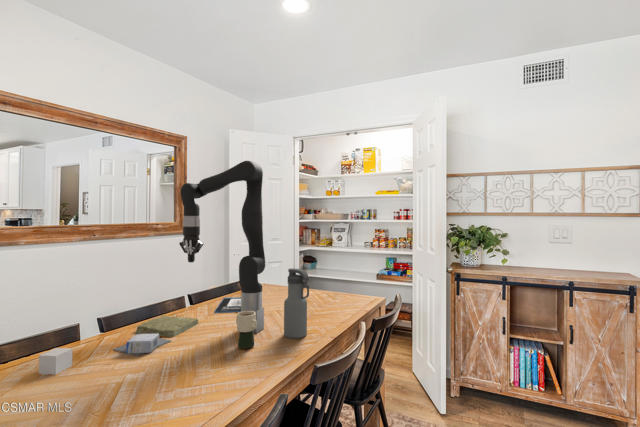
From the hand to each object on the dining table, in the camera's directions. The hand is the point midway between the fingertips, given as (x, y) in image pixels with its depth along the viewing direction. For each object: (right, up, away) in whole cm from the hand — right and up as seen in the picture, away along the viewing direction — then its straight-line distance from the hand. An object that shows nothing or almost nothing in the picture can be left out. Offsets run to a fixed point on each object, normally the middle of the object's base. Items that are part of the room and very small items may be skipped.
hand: (191, 262), depth 155 cm
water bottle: (+51, -29, -15) cm, 60 cm away
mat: (-8, -28, -28) cm, 40 cm away
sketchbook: (+15, -30, +32) cm, 46 cm away
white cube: (-25, -28, -48) cm, 61 cm away
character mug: (+33, -29, -28) cm, 52 cm away
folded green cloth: (-8, -29, -8) cm, 31 cm away
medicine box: (-1, -26, -31) cm, 41 cm away
